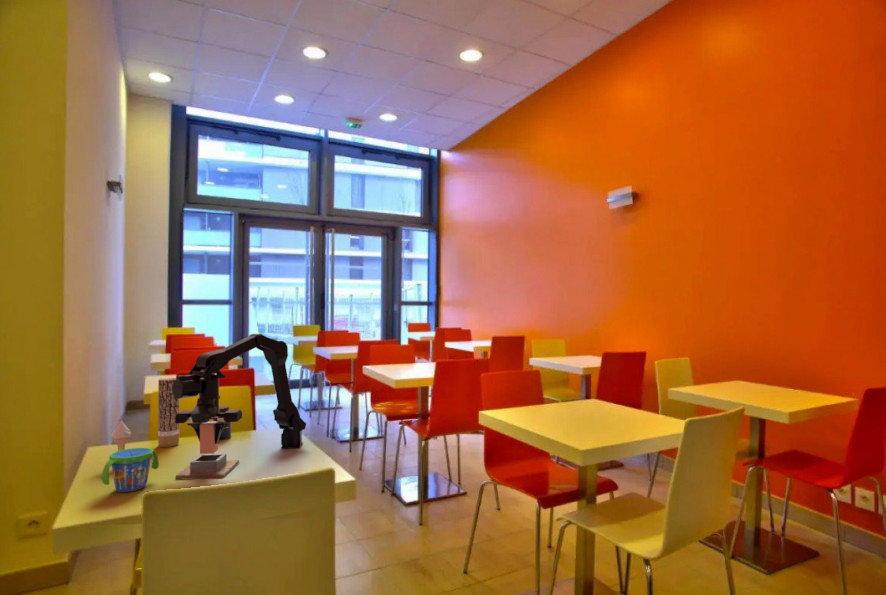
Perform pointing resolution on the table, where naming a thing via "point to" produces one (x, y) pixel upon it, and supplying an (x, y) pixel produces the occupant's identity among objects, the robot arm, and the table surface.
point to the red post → (208, 438)
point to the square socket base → (208, 467)
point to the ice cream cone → (121, 435)
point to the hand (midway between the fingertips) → (209, 443)
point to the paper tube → (167, 413)
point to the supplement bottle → (227, 428)
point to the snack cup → (130, 468)
